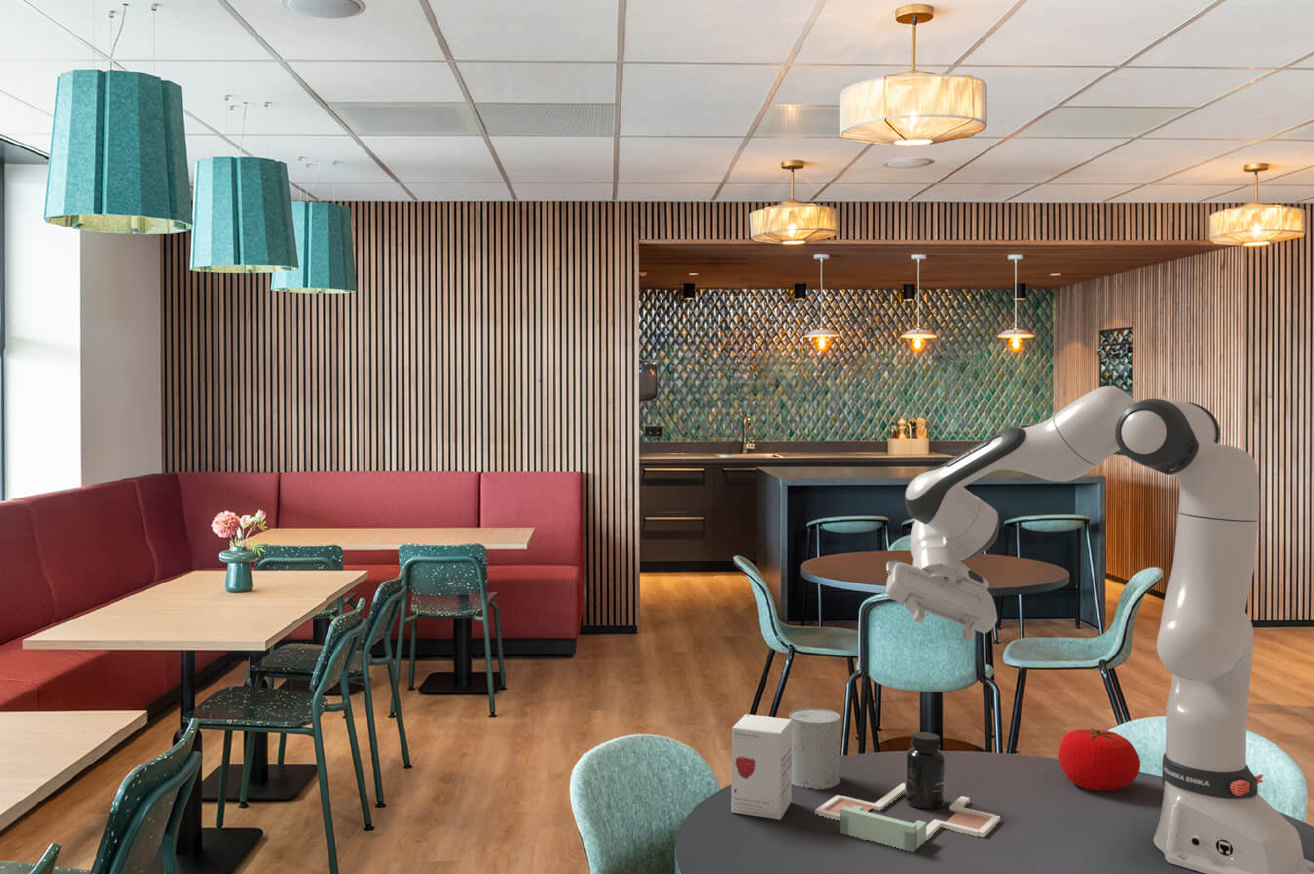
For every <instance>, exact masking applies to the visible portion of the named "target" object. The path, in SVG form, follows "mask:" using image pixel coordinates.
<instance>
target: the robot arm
mask: <svg viewBox="0 0 1314 874" xmlns="http://www.w3.org/2000/svg"><path fill="white" fill-rule="evenodd" d="M1219 425H1220V424H1219V423H1218V421H1217V419H1216V417H1215V416H1214V415H1213V413H1212V412H1211V411H1210V410H1208V409H1207V408H1206V407H1204V406H1202V405H1200V404H1197V403H1194V402H1190V401H1184V400H1181V399H1177V398H1168V397H1166V398H1146V399H1142V400H1139V401H1138V402H1137V401H1136V400H1135V399H1134V398H1133V397H1132V396H1131V395H1130V394H1129V393H1127V392H1126V391H1125V390H1122V389H1121V388H1119V387H1117V386H1112V385H1105V386H1100V387H1097V388H1095V389H1093V390H1092V391H1089V392H1088V393H1086V394H1084V395H1083V396H1081V397H1079V398H1078V399H1075V400H1073V402H1071V403H1069V404H1068V405H1066V406H1064V407H1063V408H1062V409H1061V410H1059V411H1058V412H1057V413H1056V414H1054V415H1053V416H1051V417H1050V418H1048V419H1046V420H1045V421H1042V422H1039V423H1038V424H1037V423H1036V424H1034V425H1031V426H1026V427H1010V428H1007V429H1005V430H1002V431H1000V432H998V433H996V434H994V435H992V436H991V437H989V438H987V439H985V440H983V441H981V442H980V443H978V444H976V445H974V446H973V447H971V448H969V449H967V450H966V451H964V452H962V453H961V454H959V455H956V457H953V458H952V459H949V460H948V461H946V462H945V463H943V464H941V465H938V466H936V467H933V468H930V469H927V470H925V471H923V472H921V473H919V474H918V475H917V476H915V477H914V478H913V479H912V480H911V481H910V482H909V484H908V485H907V488H906V489H905V493H904V498H905V499H904V501H905V506H906V510H907V513H908V515H909V517H911V518H913V519H915V520H914V522H913V524H912V528H911V533H910V554H911V557H912V559H913V560H912V565H911V564H908V563H906V562H902V561H900V560H897V559H894V560H888V561H887V562H886V565H885V568H886V572H887V574H888V576H887V579H886V584H885V593H886V595H887V596H888V598H889V599H891V600H893V601H896V602H899V603H901V604H904V605H905V607H906V609H907V610H908V612H909V613H910V614H911V615H912V621H914V622H916V623H920V624H922V623H923V621H924V620H925V619H926V613H928V614H930V615H933V616H936V617H939V618H941V619H944V620H947V621H950V622H952V623H955V624H957V625H961V626H964V630H962V632H961V636H962V639H963V640H966V641H968V642H972V641H973V640H974V638H975V637H976V632H980V633H981V634H987V633H989V632H990V631H992V629H993V628H994V627H995V625H996V623H997V622H998V614H997V609H996V605H995V601H994V598H993V597H992V595H991V593H990V591H988V588H989V585H990V584H989V581H988V579H986V578H985V577H983V576H982V575H980V574H978V573H976V572H975V571H973V570H972V569H970V568H969V567H968V566H967V565H966V564H964V563H963V562H962V561H967V560H971V559H972V558H975V557H977V556H979V555H981V554H983V553H984V552H986V551H987V550H988V549H989V548H990V547H992V545H994V543H995V542H996V541H997V538H998V533H999V530H1000V517H999V513H998V511H997V510H996V509H995V508H994V507H993V506H991V505H990V504H988V503H987V502H986V501H984V500H983V499H981V498H980V497H978V496H976V495H974V494H973V493H972V492H971V491H969V490H968V489H966V488H965V487H966V486H968V485H969V484H971V483H973V482H975V481H977V480H978V479H980V478H982V477H984V476H986V475H987V474H989V473H992V472H995V471H998V470H999V471H1000V470H1001V471H1002V470H1005V471H1006V470H1009V471H1014V472H1019V473H1024V474H1028V475H1031V476H1034V477H1037V478H1040V479H1043V480H1045V481H1051V482H1070V481H1072V480H1073V481H1074V480H1076V479H1078V478H1080V477H1082V476H1084V475H1086V474H1087V473H1089V472H1090V471H1092V470H1093V469H1094V468H1096V467H1097V466H1098V465H1100V464H1101V463H1102V462H1104V461H1105V460H1106V459H1108V458H1109V457H1111V456H1112V455H1114V454H1115V453H1117V452H1118V451H1121V452H1122V453H1123V454H1124V455H1125V456H1126V457H1127V458H1128V459H1130V460H1132V461H1133V462H1135V463H1137V464H1139V465H1141V466H1144V467H1146V468H1150V469H1152V470H1154V471H1156V472H1159V473H1162V474H1164V475H1167V476H1172V475H1174V477H1175V478H1176V480H1177V482H1178V486H1179V493H1178V494H1179V497H1178V506H1177V507H1178V508H1177V518H1176V526H1175V528H1176V529H1175V541H1174V549H1173V552H1174V553H1173V560H1172V564H1171V565H1172V567H1171V571H1170V575H1169V580H1168V583H1167V589H1166V593H1165V596H1164V603H1163V608H1162V614H1161V618H1160V619H1161V620H1160V626H1159V631H1158V634H1157V639H1156V640H1157V641H1156V650H1157V654H1158V656H1159V659H1160V661H1161V663H1162V664H1163V665H1164V667H1165V668H1166V669H1167V670H1168V671H1169V672H1170V673H1172V677H1171V681H1170V688H1169V692H1168V693H1169V695H1168V699H1167V701H1166V716H1165V717H1166V719H1165V720H1166V721H1165V722H1166V723H1165V725H1166V726H1165V753H1163V757H1162V784H1163V788H1164V790H1163V797H1162V806H1161V811H1160V817H1159V821H1158V825H1157V828H1156V831H1155V834H1154V836H1153V843H1154V845H1155V846H1156V847H1157V848H1158V849H1159V850H1160V851H1161V852H1162V853H1163V854H1164V858H1165V861H1166V862H1168V863H1169V864H1172V865H1175V866H1177V867H1178V866H1179V867H1182V868H1186V869H1188V870H1193V871H1197V872H1199V873H1201V874H1202V873H1203V874H1314V862H1312V861H1310V860H1308V859H1306V858H1305V857H1304V851H1303V844H1302V840H1301V838H1300V834H1299V831H1298V830H1297V828H1296V827H1295V826H1294V825H1293V824H1291V823H1290V822H1289V821H1288V820H1287V819H1286V818H1285V817H1284V816H1283V815H1281V813H1279V811H1277V810H1276V809H1275V808H1274V807H1273V806H1272V805H1271V804H1270V803H1269V802H1267V800H1266V799H1264V798H1263V797H1262V795H1260V793H1258V791H1259V790H1258V789H1259V787H1258V784H1261V783H1263V782H1264V780H1263V777H1264V775H1263V774H1261V773H1260V774H1258V775H1256V776H1255V774H1254V773H1252V771H1251V770H1250V767H1249V766H1248V764H1246V761H1247V759H1246V756H1247V753H1246V751H1247V748H1246V747H1247V743H1246V742H1247V711H1248V702H1249V695H1250V686H1251V675H1252V665H1253V664H1252V663H1253V650H1254V627H1253V624H1252V621H1251V619H1250V616H1248V614H1247V612H1246V608H1247V607H1246V606H1247V601H1248V596H1249V591H1250V587H1251V582H1252V578H1253V575H1254V570H1255V559H1256V551H1257V550H1256V549H1257V538H1258V529H1259V528H1258V525H1259V516H1260V487H1259V475H1258V468H1257V463H1256V461H1255V459H1254V457H1253V456H1252V455H1251V454H1250V453H1248V452H1246V451H1245V450H1244V449H1241V448H1239V447H1235V446H1233V445H1226V444H1220V443H1219V442H1220V440H1221V439H1220V438H1221V429H1220V426H1219ZM975 631H976V632H975Z"/></svg>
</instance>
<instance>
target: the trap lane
mask: <svg viewBox="0 0 1314 874" xmlns="http://www.w3.org/2000/svg"><path fill="white" fill-rule="evenodd" d="M902 794H903V795H905V782H902V783H900V784H899V785H898V786H896V787H895V788H894V789H892V790H891V791H889V792H888V793H887V794H885V795H884V796H883V797H881V798H880V799H878V800H877V801H875V802H869V801H866V800H863V799H858V798H857V799H856V798H854V797H849V796H845V795H839V794H837V795H835V796H833V797H832V798H831V799H829V800H827V801H826V802H824V803H823V804H822V805H820V806H818V807H817V808H815V810H814V814H815V815H816V814H818V815H817V816H819V817H821V816H824V817H823V818H825V817H826V819H829V818H831V819H830V820H833V819H835V820H834V821H837V820H839V821H838V822H840V823H839V833H840V834H841V833H842V835H845V834H846V835H845V836H848V835H849V837H852V836H853V838H856V837H857V838H856V839H861V840H864V841H867V840H870V841H869V842H871V841H875V842H877V843H876V844H879V843H881V844H880V845H882V844H885V845H884V846H886V845H889V846H888V847H890V846H892V847H891V848H894V847H896V848H895V849H897V848H899V849H898V850H901V849H903V850H902V851H905V850H907V851H906V852H909V851H911V852H910V853H912V852H913V853H915V850H916V849H917V848H918V847H919V846H920V845H921V844H922V845H924V844H925V843H926V842H927V841H928V840H929V839H930V838H932V836H934V835H935V834H936V833H937V832H938V831H939V830H940V829H941V828H940V827H943V828H946V829H945V830H947V829H950V830H949V831H951V830H953V831H952V832H955V833H960V834H964V833H965V834H964V835H968V834H969V835H968V836H972V835H973V836H972V837H978V836H979V837H978V838H982V837H983V839H984V838H985V837H986V836H987V835H988V834H989V833H990V832H991V831H992V830H993V829H994V828H995V827H996V826H997V825H998V824H999V823H1000V822H1001V816H1000V815H997V814H994V813H989V812H985V811H980V810H976V809H973V808H967V807H966V806H967V805H968V804H970V803H969V802H970V799H971V798H970V797H966V796H962V795H961V796H960V797H958V798H957V799H956V800H954V802H952V803H951V804H950V805H949V806H948V807H949V808H948V809H949V810H953V811H957V812H954V814H953V815H952V816H951V817H950V818H948V819H947V820H946V821H944V820H940V819H936V818H935V819H933V820H931V821H930V822H929V823H928V824H927V821H922V820H916V821H915V822H914V823H913V822H910V821H905V820H901V819H897V818H894V817H890V816H885V815H881V814H877V813H874V812H871V811H870V812H868V811H869V810H870V809H872V808H873V809H876V810H879V811H880V810H881V809H883V808H884V807H885V806H887V805H888V804H889V803H891V804H892V803H894V802H895V801H897V798H898V797H899V798H900V797H902V796H903V795H902ZM901 795H902V796H901ZM899 798H898V799H899ZM894 800H895V801H894ZM893 801H894V802H893ZM967 803H968V804H967ZM966 804H967V805H966ZM965 805H966V806H965ZM888 806H889V805H888ZM888 806H887V807H888ZM964 806H965V807H964ZM884 809H885V808H884ZM884 809H883V810H884ZM949 810H948V811H949ZM879 811H878V812H879ZM880 812H881V811H880ZM999 821H1000V822H999ZM998 822H999V823H998ZM997 823H998V824H997ZM996 824H997V825H996ZM939 828H940V829H939ZM943 828H942V829H943ZM938 829H939V830H938ZM937 830H938V831H937ZM936 831H937V832H936ZM935 832H936V833H935ZM934 833H935V834H934ZM933 834H934V835H933ZM926 840H927V841H926ZM925 841H926V842H925ZM875 842H874V843H875ZM924 842H925V843H924ZM922 845H921V846H922ZM921 846H920V847H921ZM920 847H919V848H920ZM919 848H918V849H919ZM918 849H917V850H918ZM917 850H916V851H917Z"/></svg>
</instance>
